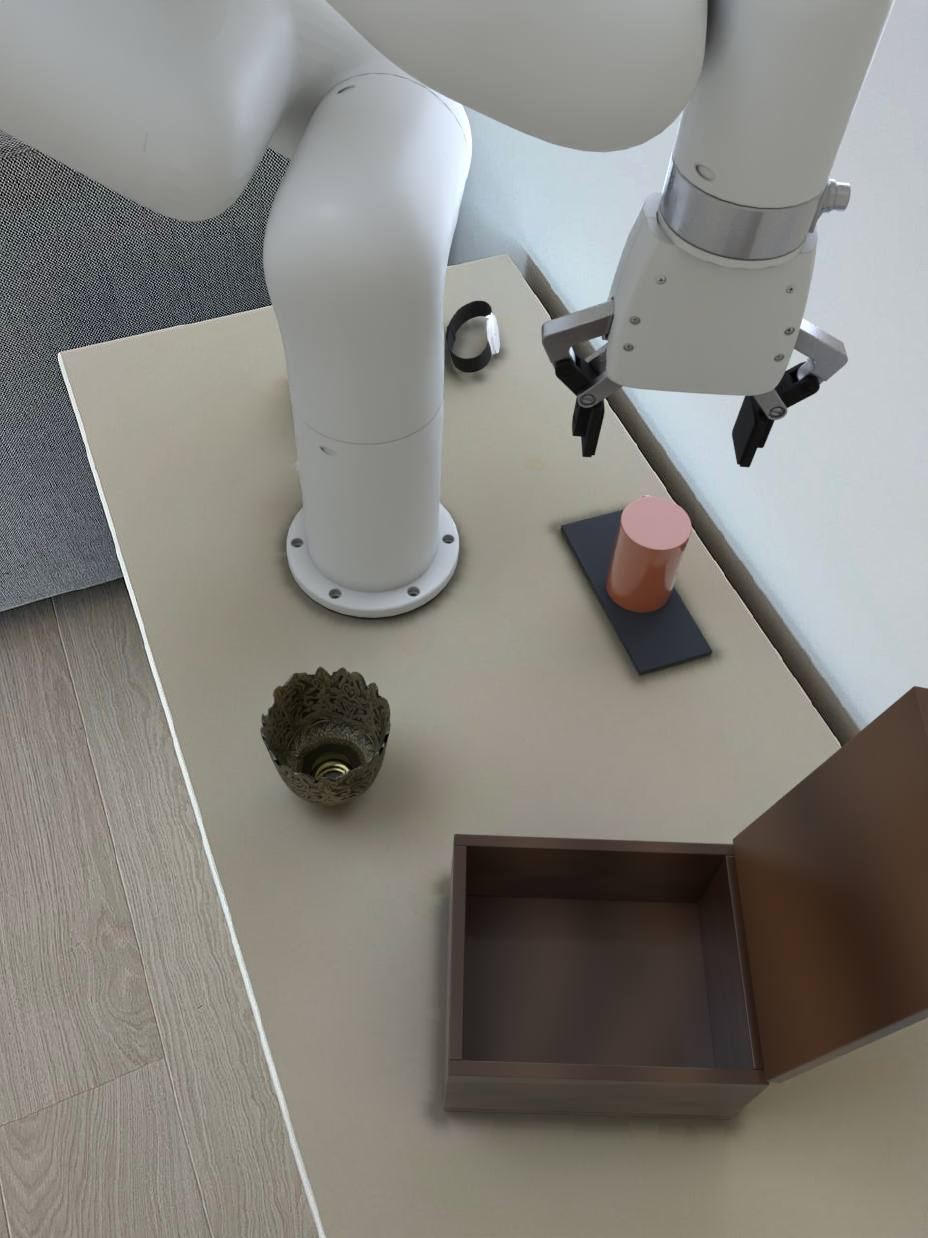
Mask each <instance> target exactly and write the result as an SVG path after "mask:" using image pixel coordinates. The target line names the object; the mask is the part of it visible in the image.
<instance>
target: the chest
mask: <svg viewBox="0 0 928 1238" xmlns="http://www.w3.org/2000/svg"><path fill="white" fill-rule="evenodd" d="M451 854H452V856H451V867H450V880H449V890H448V893H449V894H448V895H449V896H448V928H447V929H448V931H447V959H446V961H447V964H446V965H447V966H446V969H447V970H446V996H445V998H446V999H445V1001H446V1002H445V1033H444V1034H445V1035H444V1067H443V1068H444V1071H443V1072H444V1073H443V1074H444V1075H443V1104H442V1105H443V1107H442V1110H443V1111H445V1112H474V1113H475V1112H477V1113H505V1114H506V1113H507V1114H510V1113H511V1114H541V1115H542V1114H544V1115H571V1116H572V1115H573V1116H574V1115H575V1116H603V1117H604V1116H607V1117H608V1116H609V1117H639V1118H640V1117H641V1118H673V1119H674V1118H675V1119H705V1120H707V1119H708V1120H731V1119H733V1117H735V1116H736V1115H738V1113H740V1112H741V1111H743V1109H744V1108H745V1107H747V1105H749V1104H750V1103H751V1102H752V1101H753V1100H754V1099H755V1098H757V1097H759V1095H760V1094H761V1093H763V1092H764V1091H765V1090H766V1089H767V1088H768V1087H770V1085H771V1084H770V1083H771V1082H767V1081H766V1079H765V1071H764V1064H763V1057H762V1050H761V1042H760V1035H759V1028H758V1021H757V1013H756V1006H755V999H754V992H753V984H752V977H751V970H750V963H749V955H748V948H747V941H746V934H745V926H744V919H743V912H742V905H741V897H740V890H739V883H738V876H737V868H736V861H735V854H734V847H733V843H720V842H719V843H717V842H693V841H692V842H691V841H690V842H689V841H667V840H665V841H664V840H663V841H662V840H639V839H638V840H635V839H634V840H633V839H610V838H609V839H607V838H606V839H605V838H582V837H578V838H577V837H554V836H553V837H552V836H527V835H526V836H525V835H523V836H522V835H501V834H500V835H499V834H494V835H493V834H473V833H454V834H453V843H452V853H451Z"/></svg>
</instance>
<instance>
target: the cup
mask: <svg viewBox="0 0 928 1238" xmlns="http://www.w3.org/2000/svg"><path fill="white" fill-rule="evenodd" d="M272 697H273V703H272V704H271V706H269V707H268V709H267V714H266V715H265V714H264V713H262V714H261V723H262V725H261V727H259V731H260V732H259V733H260V736H261V739H262V742H263V743H264V745H265V747H266V750H267V752H268V754H269V757H270V759H271V761H272V763H273V765H274V767H275V769H276V771H277V773H278V775H279V776H280V778H281V780H282V782H283V783H284V785H286V787H287V788H288V789H289V790H290V791H291V792H292V793H293V794H294V795H295V796H297V797H298V798H300V799H301V800H304V801H305V802H308V803H311V804H314V805H317V806H324V807H331V806H333V807H334V806H339V805H340V806H341V805H344V804H348V803H351V802H352V801H353V800H355V799H357V798H359V797H360V796H362V795H363V794H365V793H366V791H368V789H370V788H371V786H372V785H373V784H374V782H375V781H376V779H377V777H378V776H379V773H380V771H381V769H382V766H383V763H384V759H385V755H386V752H387V751H386V750H387V747H388V741H389V736H390V732H391V726H392V723H391V706H390V703H389V700H388V699H387V698H385V697H384V696H382V695H380V693H379V687H378V685H377V683H376V682H375V681H373V682H370V683H369V684H368V685H367V681H366V680H365V677H364V676H363V674H361V673H360V672H359V671H351V672H350V671H348V670H347V668H346V667H340V668H339V669H337V670H336V671H333V672H332V674H330V672H328V670H327V669H325V668H324V667H322V666H318V668H317V669H316V671H315V672H314V673H311V674H309V673H308V672H306V671H305V672H294V673H293V674H292V675H290V676H289V678H288V679H287V681H285V682H284V684H283V685H278V686H276V687H275V688H274V689H273V692H272ZM331 772H336V773H339V775H338V776H336V777H332V776H325V775H327V774H328V773H331Z"/></svg>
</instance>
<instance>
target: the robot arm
mask: <svg viewBox="0 0 928 1238" xmlns="http://www.w3.org/2000/svg"><path fill="white" fill-rule="evenodd" d="M895 3H896V0H0V131H1V132H3V133H4V134H6V135H8V136H10V137H12V138H14V139H16V140H17V141H20V142H21V143H23V144H25V145H27V146H29V147H31V148H33V149H34V150H36V151H38V152H40V153H42V154H44V155H45V156H48V157H50V158H51V159H53V160H55V161H57V162H59V163H61V164H63V165H65V166H66V167H68V168H70V169H72V170H74V171H76V172H78V173H79V174H81V175H82V176H85V177H86V178H89V179H90V180H92V181H93V182H96V183H98V184H100V185H102V186H103V187H105V188H107V189H109V190H111V191H112V192H115V193H116V194H119V195H120V196H122V197H124V198H126V199H128V200H130V201H132V202H134V203H136V204H138V205H139V206H142V207H144V208H146V209H148V210H149V211H152V212H154V213H156V214H159V215H161V216H164V217H167V218H170V219H174V220H177V221H182V222H194V223H195V222H203V221H206V220H209V219H213V218H216V217H218V216H220V215H222V214H223V213H225V211H226V210H228V209H229V208H230V207H231V206H232V205H234V203H235V202H236V201H237V200H238V199H239V198H240V196H241V195H242V194H243V192H244V191H245V189H246V188H247V186H248V184H249V182H250V181H251V179H252V177H253V176H254V174H255V172H256V171H257V169H258V167H259V166H260V163H261V161H262V159H263V157H264V155H265V154H266V152H267V149H270V150H271V151H274V152H275V153H276V154H279V155H280V156H283V157H285V158H286V159H288V160H289V164H288V165H287V168H286V170H285V172H284V174H283V176H282V179H281V181H280V183H279V185H278V187H277V191H276V193H275V196H274V199H273V201H272V205H271V208H270V210H269V215H268V218H267V222H266V226H265V232H264V238H263V246H262V266H263V274H264V280H265V285H266V289H267V293H268V296H269V300H270V303H271V305H272V308H273V312H274V315H275V318H276V321H277V325H278V329H279V332H280V336H281V342H282V346H283V353H284V358H285V364H286V375H287V380H288V382H287V383H288V389H289V390H288V391H289V399H290V402H291V411H292V412H291V413H292V420H293V421H292V422H293V429H294V439H295V447H296V455H297V460H296V461H295V463H294V468H295V470H296V471H297V472H298V474H299V481H300V490H301V500H302V507H301V508H300V509H299V510H298V512H297V513H296V514H295V516H294V518H293V520H292V522H291V524H290V526H289V528H288V532H287V537H286V556H287V563H288V567H289V570H290V572H291V575H292V577H293V579H294V581H295V582H296V583H297V585H298V586H299V588H300V589H301V590H302V591H303V592H304V593H305V594H306V595H307V596H308V597H309V598H311V600H312V601H314V602H315V603H318V604H319V605H320V606H322V607H325V608H326V609H328V610H331V611H334V612H337V613H338V614H341V615H347V616H350V617H356V618H369V619H370V618H371V619H372V618H373V619H376V618H385V617H394V616H397V615H401V614H404V613H408V612H410V611H413V610H415V609H417V608H419V607H422V606H424V605H426V604H427V603H428V602H430V601H431V600H432V599H434V598H435V597H437V596H438V595H439V594H440V593H441V592H442V591H443V590H444V589H445V588H446V587H447V585H448V583H449V582H450V581H451V579H452V578H453V576H454V573H455V571H456V568H457V565H458V563H459V554H460V535H459V533H458V529H457V525H456V522H455V521H454V518H452V515H451V514H450V512H449V511H448V510H447V509H446V507H445V506H444V505H443V504H442V503H441V479H442V478H441V477H442V476H441V475H442V455H443V454H442V452H443V451H442V450H443V428H444V426H443V423H444V395H445V394H444V385H445V384H444V383H445V329H444V294H445V293H444V292H445V285H446V283H445V282H446V276H447V268H448V262H449V257H450V251H451V247H452V243H453V239H454V235H455V231H456V228H457V223H458V220H459V215H460V208H461V205H462V202H463V201H462V200H463V198H464V194H465V189H466V186H467V181H468V176H469V172H470V168H471V162H472V161H471V160H472V154H473V137H472V131H471V126H470V122H469V118H468V115H467V113H466V111H465V108H464V107H466V108H468V109H470V110H472V111H475V112H477V113H478V114H480V115H483V116H485V117H487V118H490V119H491V120H494V121H496V122H498V123H501V125H502V124H503V125H504V126H507V127H509V128H511V129H513V130H515V131H518V132H520V133H522V134H524V135H527V136H530V137H532V138H535V139H538V140H541V141H543V142H546V143H549V144H551V145H555V146H558V147H562V148H566V149H571V150H576V151H581V152H589V153H612V152H619V151H627V150H630V149H633V148H635V147H638V146H641V145H644V144H645V143H648V142H649V141H651V140H653V139H654V138H656V137H657V136H659V135H661V134H662V133H663V132H664V131H665V130H667V128H668V127H670V126H671V125H672V124H673V123H674V122H675V121H676V120H677V119H678V117H680V118H679V121H678V127H677V130H676V134H675V139H674V143H673V147H672V151H671V155H670V157H669V162H668V167H667V171H666V176H665V179H664V182H663V188H662V191H661V192H660V191H658V192H652V193H650V194H649V195H647V197H646V198H645V199H644V200H643V203H642V205H641V206H640V208H639V210H638V213H637V215H636V217H635V219H634V221H633V224H632V226H631V228H630V230H629V232H628V236H627V238H626V241H625V243H624V246H623V249H622V252H621V255H620V257H619V260H618V264H617V266H616V270H615V273H614V277H613V280H612V282H611V287H610V290H609V292H608V297H607V300H606V301H604V302H601V303H598V304H595V305H592V306H589V307H586V308H583V309H580V310H577V311H574V312H571V313H568V314H565V315H561V316H559V317H556V318H553V319H550V320H547V321H545V322H543V324H542V325H541V328H540V329H541V344H542V347H543V349H544V351H545V353H546V355H547V358H548V359H549V362H550V363H551V364H552V366H553V367H552V368H553V369H554V374H555V376H556V378H557V379H558V380H559V381H560V382H561V383H562V384H563V385H564V386H565V387H567V388H568V390H570V391H571V392H572V393H573V394H574V396H575V397H576V399H575V402H574V403H575V404H574V408H573V413H572V419H571V435H572V437H578V438H579V437H580V441H581V456H582V458H592V456H595V455H596V452H597V448H598V443H599V440H600V439H599V438H600V435H601V431H602V426H603V422H604V417H605V411H606V410H605V399H607V398H608V397H610V396H611V395H612V394H614V393H615V392H618V391H619V390H620V389H621V388H622V387H625V388H629V389H630V388H631V389H636V390H647V391H648V390H649V391H657V392H658V391H660V392H671V393H686V394H699V395H700V394H703V395H720V396H739V397H740V396H742V397H744V398H743V401H742V403H741V406H740V408H739V411H738V414H737V416H736V419H735V421H734V425H733V427H732V431H731V438H732V442H733V449H734V454H735V460H736V465H738V466H739V467H740V468H751V466H752V462H753V460H754V457H755V455H756V452H757V450H758V449H763V448H764V447H765V445H766V443H767V441H768V438H769V435H770V433H771V431H772V428H773V426H774V424H775V421H778V420H782V419H783V418H785V417H786V416H787V414H788V409H789V408H790V407H792V406H795V405H796V404H798V403H801V402H802V401H804V400H806V399H807V398H809V397H811V396H814V395H815V394H817V393H818V392H819V390H820V387H821V384H823V383H824V382H827V381H828V380H829V379H830V378H832V377H833V376H834V375H835V374H837V373H838V372H839V371H840V370H841V369H842V368H844V367H845V366H846V364H848V362H849V357H848V354H847V350H846V347H845V343H844V342H843V341H842V340H840V339H838V338H837V337H835V336H834V335H832V334H830V333H829V332H827V331H825V330H823V329H822V328H820V327H818V326H816V325H815V324H813V323H812V322H811V321H808V320H807V319H805V318H804V315H805V311H806V307H807V303H808V298H809V293H810V289H811V285H812V284H811V283H812V280H813V274H814V268H815V261H816V256H817V248H818V231H817V223H818V220H819V219H820V218H821V216H822V215H823V214H830V212H831V211H832V212H845V211H846V210H847V208H848V205H849V203H850V199H851V192H852V190H851V184H850V182H839V181H836V179H834V178H830V176H831V174H832V171H833V169H834V166H835V163H836V160H837V157H838V155H839V152H840V150H841V147H842V145H843V142H844V139H845V136H846V133H847V131H848V128H849V125H850V122H851V120H852V117H853V114H854V111H855V109H856V106H857V104H858V101H859V99H860V95H861V93H862V90H863V88H864V85H865V82H866V80H867V77H868V74H869V72H870V69H871V67H872V64H873V61H874V58H875V56H876V53H877V50H878V48H879V45H880V43H881V40H882V37H883V34H884V32H885V30H886V27H887V24H888V21H889V19H890V16H891V13H892V11H893V8H894V5H895ZM599 337H600V338H601V340H602V341H607V342H606V343H605V344H603V345H601V347H599V348H598V349H596V350H595V351H593V352H592V353H591V354H590V355H588V356H586V358H583V356H581V354H580V353H579V352H578V351H577V350H576V349H575V348H574V347H573V346H575V345H578V344H581V343H584V342H588V341H590V340H594V339H597V338H599ZM794 350H795V351H796V352H799V353H800V354H802V355H804V356H805V357H807V359H806V361H802V362H800V363H797V364H796V365H794V366H791V367H790V368H789V369H787V368H788V366H789V364H790V361H791V358H792V356H793V352H794Z"/></svg>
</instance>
